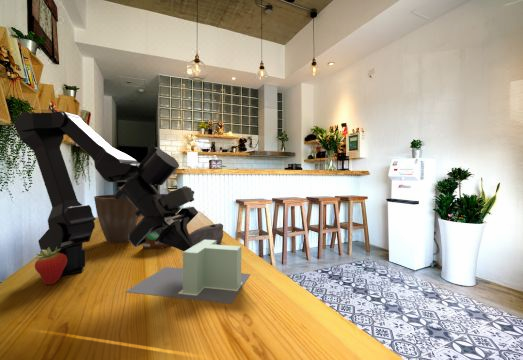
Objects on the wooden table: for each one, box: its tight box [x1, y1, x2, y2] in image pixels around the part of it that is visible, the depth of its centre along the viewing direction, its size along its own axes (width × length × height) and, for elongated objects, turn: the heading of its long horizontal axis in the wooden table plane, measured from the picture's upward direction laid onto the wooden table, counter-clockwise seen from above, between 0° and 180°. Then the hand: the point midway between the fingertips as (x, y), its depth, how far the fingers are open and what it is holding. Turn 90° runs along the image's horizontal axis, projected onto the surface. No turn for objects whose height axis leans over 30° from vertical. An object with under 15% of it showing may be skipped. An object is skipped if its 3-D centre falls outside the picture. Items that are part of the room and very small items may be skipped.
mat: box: [124, 266, 251, 305], centre depth 54 cm, size 22×14×1 cm, turn 79°
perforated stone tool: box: [189, 223, 224, 245], centre depth 82 cm, size 15×5×7 cm, turn 139°
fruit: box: [34, 246, 67, 285], centre depth 54 cm, size 5×5×8 cm
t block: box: [182, 240, 242, 294], centre depth 53 cm, size 10×10×8 cm
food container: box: [138, 216, 170, 250], centre depth 82 cm, size 12×6×10 cm, turn 143°
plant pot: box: [93, 194, 139, 244], centre depth 89 cm, size 15×15×16 cm
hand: (193, 252), depth 54 cm, fingers closed, pressing on t block
